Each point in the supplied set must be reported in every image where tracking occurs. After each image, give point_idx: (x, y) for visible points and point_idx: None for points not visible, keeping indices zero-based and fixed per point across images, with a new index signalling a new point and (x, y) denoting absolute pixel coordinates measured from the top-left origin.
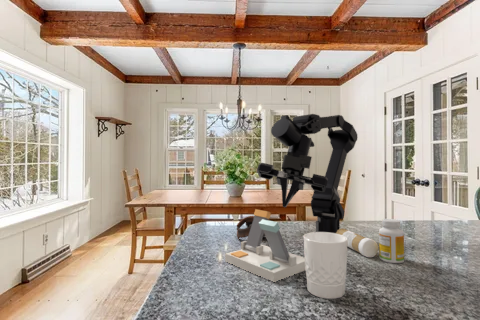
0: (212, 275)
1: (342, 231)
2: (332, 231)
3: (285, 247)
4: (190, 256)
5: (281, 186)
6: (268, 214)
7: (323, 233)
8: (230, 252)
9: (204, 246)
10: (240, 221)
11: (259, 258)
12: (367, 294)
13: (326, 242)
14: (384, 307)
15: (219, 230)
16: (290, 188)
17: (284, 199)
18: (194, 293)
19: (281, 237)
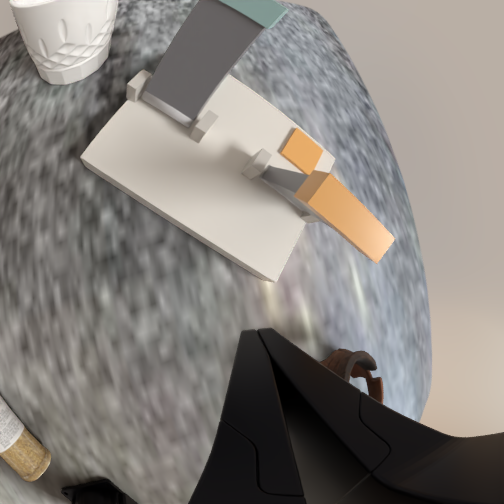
0: (310, 90)
1: (20, 457)
2: (82, 501)
3: (165, 53)
4: (388, 191)
5: (432, 433)
6: (313, 185)
7: (47, 3)
8: (328, 169)
9: (393, 269)
10: (382, 396)
11: (241, 128)
12: (6, 73)
13: (43, 22)
14: (7, 45)
15: (392, 406)
16: (297, 492)
17: (286, 362)
18: (300, 36)
19: (187, 19)
